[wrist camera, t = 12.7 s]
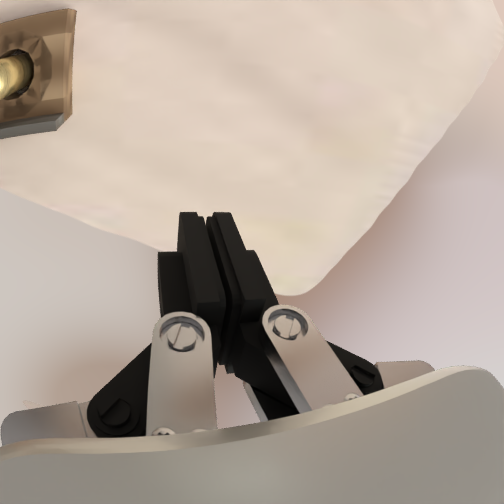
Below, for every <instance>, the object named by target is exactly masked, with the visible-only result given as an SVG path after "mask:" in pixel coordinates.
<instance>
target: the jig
mask: <svg viewBox="0 0 504 504" xmlns="http://www.w3.org/2000/svg"><path fill="white" fill-rule="evenodd" d="M76 12H77V11H76V10H72V9H62V10H56V11H51V12H46V13H41V14H36V15H32V16H27V17H23V18H19V19H15V20H12V21H8V22H5V23H1V24H0V59H2V58H6V57H10V56H12V55H13V54H14V53H15V52H16V51H17V50H18V49H21V50H23V51H25V52H28V53H29V55H30V57H31V58H32V60H33V62H34V78H33V80H32V83H31V85H30V87H29V89H28V90H27V91H26V92H25V93H20V94H19V93H17V92H14V93H12V94H11V95H9V96H7V97H5V98H3V99H1V100H0V139H4V138H9V137H15V136H21V135H28V134H35V133H42V132H50V131H56V130H57V129H58V128H59V127H60V126H61V125H62V124H63V123H64V122H65V121H66V120H67V119H68V118H69V117H70V116H71V115H72V64H73V45H74V31H75V21H76Z"/></svg>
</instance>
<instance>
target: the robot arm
mask: <svg viewBox="0 0 504 504" xmlns="http://www.w3.org/2000/svg"><path fill="white" fill-rule="evenodd" d="M158 290H159V302H160V313H161V318H160V319H159V320H158V322H157V323H156V324H155V327H154V330H153V337H152V343H151V344H150V345H149V346H147V347H146V348H145V349H144V350H143V351H142V352H141V353H140V354H139V355H138V356H137V357H136V358H135V359H134V360H132V361H131V362H130V363H129V364H128V365H127V366H126V367H125V368H124V369H123V370H122V371H120V373H118V374H117V375H116V376H115V377H114V378H113V379H112V380H111V381H110V382H109V383H108V384H106V385H105V386H104V387H103V388H102V389H101V390H100V391H99V392H98V393H97V394H96V395H95V396H94V397H93V398H92V400H91V401H88V402H84V403H79V404H78V403H77V401H73V402H69V403H63V404H58V405H52V406H47V407H41V408H35V409H29V410H23V411H16V412H14V413H11V414H9V415H8V416H7V417H6V418H5V419H4V421H3V423H2V426H1V440H2V447H0V504H504V388H503V387H502V386H501V384H500V383H499V382H498V380H496V378H495V377H494V376H493V375H492V374H491V373H490V372H488V371H487V370H484V369H482V368H478V367H472V366H451V367H447V368H442V369H439V370H436V371H435V370H434V368H433V367H432V366H431V365H430V364H428V363H426V362H424V361H419V360H418V361H397V362H377V363H376V364H375V365H373V364H372V363H370V362H369V361H367V360H365V359H363V358H361V357H359V356H356V355H355V354H352V353H350V352H348V351H346V350H344V349H342V348H340V347H338V346H336V345H334V344H332V343H330V342H328V341H326V340H325V339H324V337H323V336H322V335H321V333H320V332H319V330H318V329H317V327H316V326H315V325H314V323H313V322H312V320H311V319H310V318H309V316H308V315H307V314H306V313H305V312H303V311H301V310H300V309H299V308H296V307H293V306H290V305H279V304H278V301H277V298H276V296H275V294H274V292H273V289H272V287H271V285H270V283H269V280H268V278H267V276H266V274H265V272H264V269H263V267H262V265H261V263H260V260H259V258H258V256H257V254H256V252H255V251H254V250H246V248H245V246H244V244H243V241H242V239H241V236H240V234H239V231H238V229H237V227H236V224H235V222H234V219H233V217H232V214H231V213H230V212H214V213H213V215H212V217H207V220H206V225H205V221H204V218H203V216H198V214H197V212H180V215H179V227H178V243H177V252H158ZM217 363H219V365H225V369H226V372H227V374H229V373H235V376H236V377H238V378H240V379H241V380H243V386H244V389H245V391H246V393H247V395H248V397H249V399H250V401H251V403H252V405H253V407H254V409H255V411H256V413H257V415H258V417H259V419H260V421H261V422H259V423H254V424H248V425H242V426H236V427H230V428H224V429H217V419H216V418H217V417H216V405H215V391H214V378H215V373H216V368H217Z"/></svg>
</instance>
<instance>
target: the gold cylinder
mask: <svg viewBox="0 0 504 504" xmlns="http://www.w3.org/2000/svg"><path fill="white" fill-rule="evenodd" d="M33 78H34V62H33V60H32V58H31V57H30V55H29V53H23V54H18V55H14V56H10V57H6V58H2V59H0V100H1V99H3V98H5V97H7V96H9V95H11V94H12V93H14V92H16V91H18V90H20V89H22V88H24V87H26V86H28V85H30V84H31V83H32V80H33Z"/></svg>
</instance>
